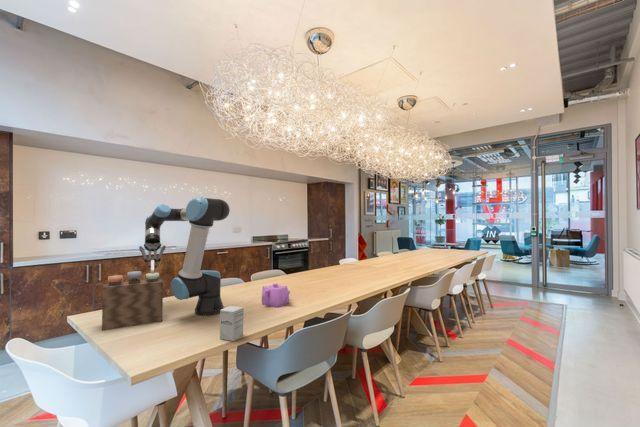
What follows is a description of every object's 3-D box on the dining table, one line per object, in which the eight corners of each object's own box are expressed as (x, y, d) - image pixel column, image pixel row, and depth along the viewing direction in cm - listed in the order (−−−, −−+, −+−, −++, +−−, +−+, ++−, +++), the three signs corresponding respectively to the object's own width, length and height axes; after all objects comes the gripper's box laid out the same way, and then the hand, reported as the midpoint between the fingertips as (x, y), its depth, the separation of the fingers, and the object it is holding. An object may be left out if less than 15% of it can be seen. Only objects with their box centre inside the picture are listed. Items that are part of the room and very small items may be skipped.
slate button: (127, 281, 145) (127, 273, 146) (127, 279, 151) (127, 271, 151) (141, 280, 148) (141, 272, 149) (141, 278, 154) (141, 270, 154)
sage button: (145, 282, 149) (145, 275, 150) (145, 280, 155) (145, 273, 155) (159, 281, 152) (159, 273, 153) (158, 279, 158) (158, 272, 158)
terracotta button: (107, 286, 141) (107, 277, 141) (108, 283, 146) (108, 275, 147) (122, 284, 144) (122, 276, 144) (122, 282, 149) (123, 274, 150)
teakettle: (261, 301, 189) (261, 281, 190) (288, 299, 192) (288, 280, 193) (261, 308, 172) (261, 287, 173) (290, 307, 176) (290, 286, 176)
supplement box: (219, 339, 127) (219, 309, 128) (230, 333, 134) (230, 305, 134) (233, 341, 124) (233, 311, 125) (243, 335, 131) (244, 306, 132)
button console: (101, 330, 138) (102, 284, 139) (104, 324, 147) (105, 280, 147) (162, 321, 151) (162, 278, 152) (161, 315, 160) (161, 275, 160)
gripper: (165, 241, 174) (166, 274, 159) (139, 242, 168) (137, 277, 153) (165, 233, 170) (166, 266, 155) (139, 233, 163) (137, 268, 148)
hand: (152, 271), depth 154 cm, fingers closed
